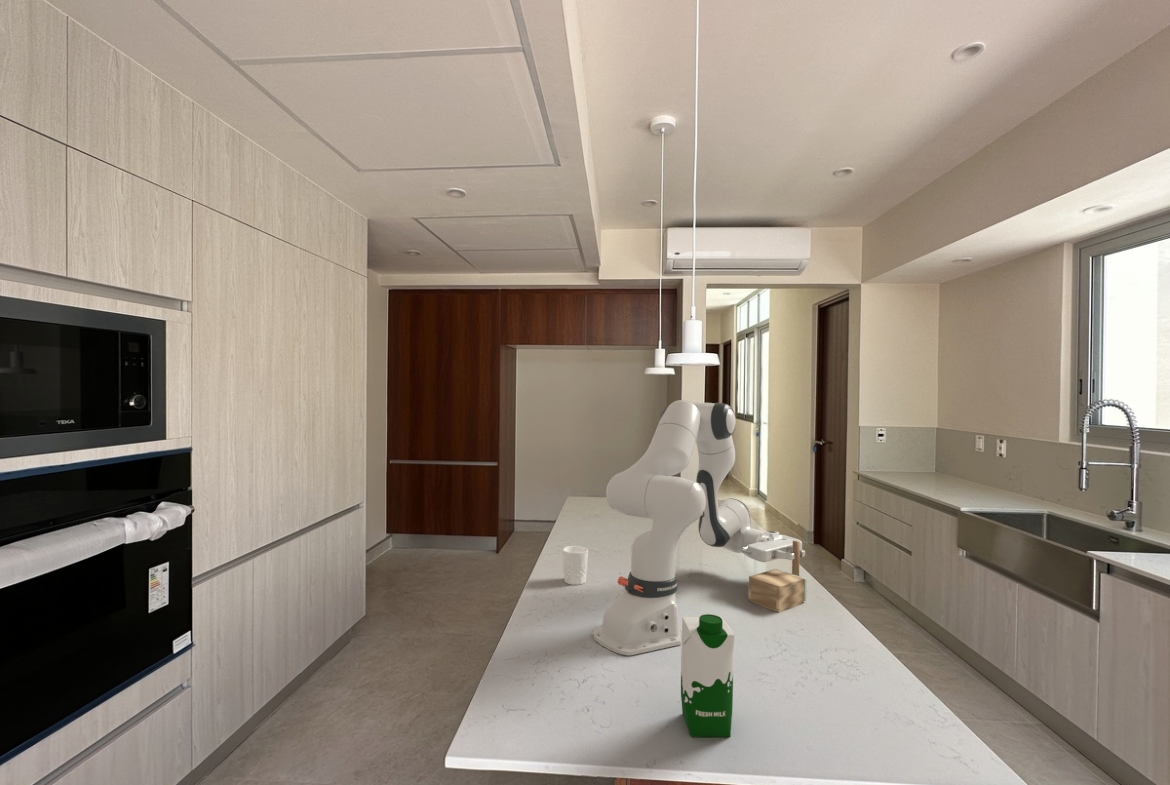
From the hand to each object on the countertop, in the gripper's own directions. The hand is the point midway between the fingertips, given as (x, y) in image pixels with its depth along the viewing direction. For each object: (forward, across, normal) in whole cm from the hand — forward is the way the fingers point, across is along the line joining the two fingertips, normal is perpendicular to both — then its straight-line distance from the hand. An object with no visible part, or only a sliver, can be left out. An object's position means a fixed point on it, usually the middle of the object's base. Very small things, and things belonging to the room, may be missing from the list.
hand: (798, 555), depth 164 cm
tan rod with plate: (-1, -7, +12) cm, 13 cm away
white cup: (-47, -48, +12) cm, 68 cm away
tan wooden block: (-1, -10, +12) cm, 15 cm away
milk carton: (+27, -71, +12) cm, 77 cm away
